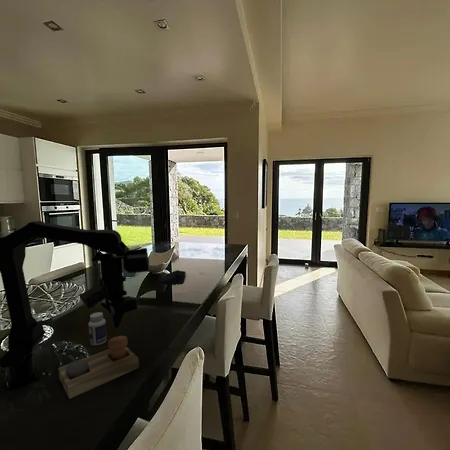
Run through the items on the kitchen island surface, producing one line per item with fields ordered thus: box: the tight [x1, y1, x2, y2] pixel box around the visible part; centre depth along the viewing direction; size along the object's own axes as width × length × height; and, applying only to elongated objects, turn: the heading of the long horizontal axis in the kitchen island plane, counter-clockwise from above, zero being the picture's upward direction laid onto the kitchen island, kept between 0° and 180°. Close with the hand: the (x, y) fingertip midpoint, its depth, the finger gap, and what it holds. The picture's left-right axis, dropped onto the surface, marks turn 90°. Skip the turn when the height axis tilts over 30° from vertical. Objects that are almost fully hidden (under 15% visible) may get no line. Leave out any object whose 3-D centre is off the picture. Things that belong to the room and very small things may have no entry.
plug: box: [66, 359, 89, 380], centre depth 74 cm, size 5×5×5 cm
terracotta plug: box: [107, 335, 128, 359], centre depth 81 cm, size 5×5×5 cm
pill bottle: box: [88, 311, 108, 346], centre depth 95 cm, size 5×5×10 cm
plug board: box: [57, 346, 140, 400], centre depth 78 cm, size 11×18×3 cm, turn 132°
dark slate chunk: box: [156, 270, 187, 286], centre depth 167 cm, size 15×22×5 cm
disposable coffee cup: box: [122, 259, 136, 278], centre depth 175 cm, size 11×11×15 cm
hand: (116, 327), depth 81 cm, fingers closed
